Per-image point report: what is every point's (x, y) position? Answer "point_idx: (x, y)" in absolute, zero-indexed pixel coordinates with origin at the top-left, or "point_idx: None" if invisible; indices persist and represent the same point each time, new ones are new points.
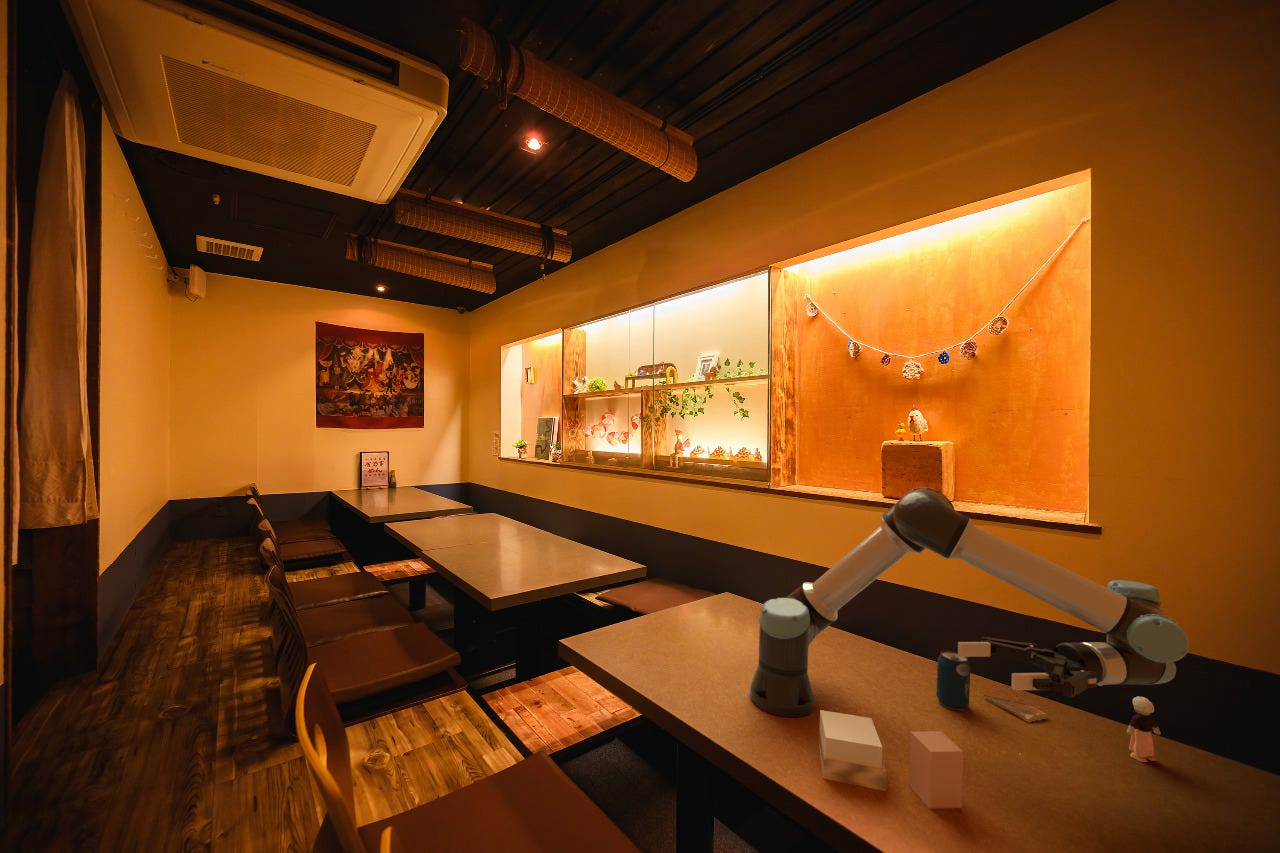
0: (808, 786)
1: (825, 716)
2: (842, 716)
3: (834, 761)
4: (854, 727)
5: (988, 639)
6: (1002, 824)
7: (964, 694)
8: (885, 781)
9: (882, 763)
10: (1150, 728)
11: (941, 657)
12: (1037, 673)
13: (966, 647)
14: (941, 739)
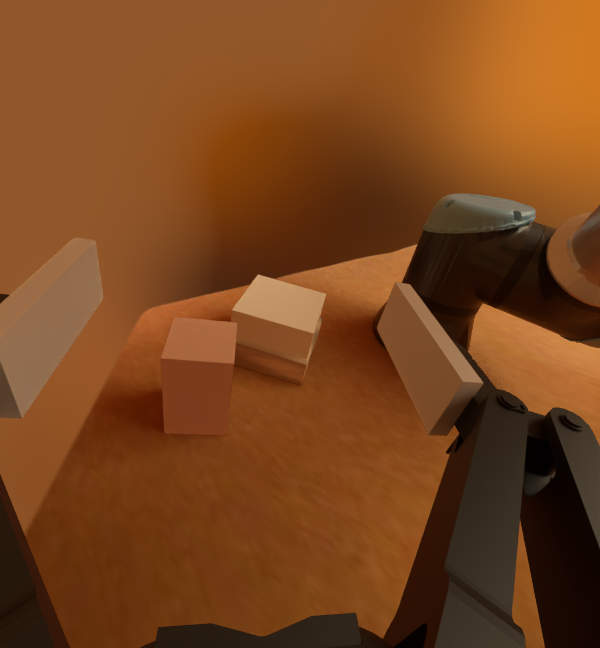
0: (236, 301)
1: (309, 292)
2: (312, 306)
3: None
4: (283, 305)
5: (555, 427)
6: (105, 475)
7: None
8: None
9: (240, 342)
10: None
11: None
12: (22, 303)
13: (398, 311)
14: (206, 349)
